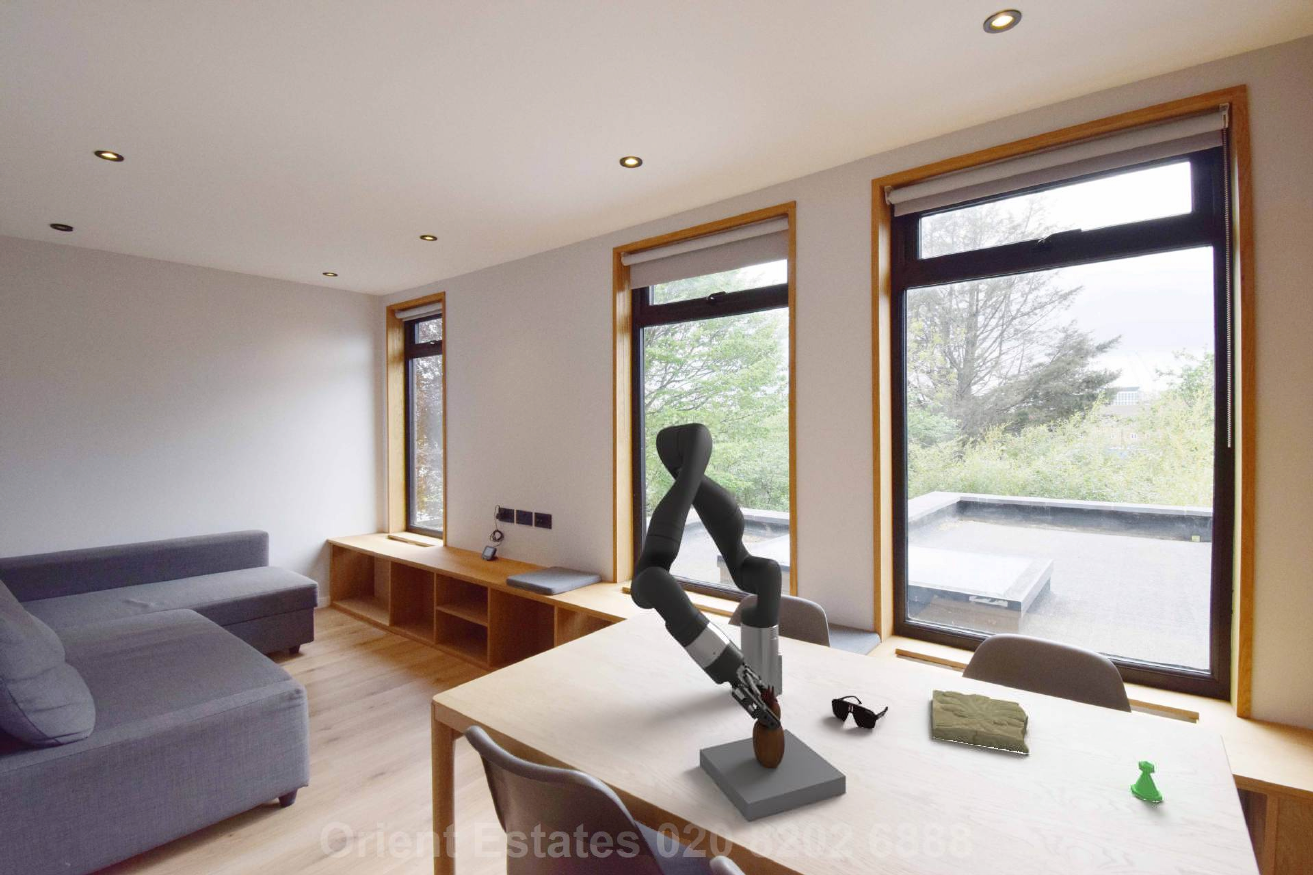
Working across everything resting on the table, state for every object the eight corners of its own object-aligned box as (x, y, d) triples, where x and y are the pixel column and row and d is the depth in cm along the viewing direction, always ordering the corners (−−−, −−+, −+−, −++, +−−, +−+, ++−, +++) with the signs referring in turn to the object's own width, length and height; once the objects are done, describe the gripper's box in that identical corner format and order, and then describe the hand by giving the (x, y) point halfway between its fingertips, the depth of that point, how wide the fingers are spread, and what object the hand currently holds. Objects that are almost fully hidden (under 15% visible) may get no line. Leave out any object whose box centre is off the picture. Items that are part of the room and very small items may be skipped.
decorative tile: (932, 740, 123) (932, 723, 123) (932, 700, 141) (932, 685, 141) (1037, 760, 115) (1037, 742, 115) (1023, 715, 134) (1023, 700, 134)
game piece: (1124, 786, 106) (1124, 753, 106) (1150, 788, 105) (1150, 754, 105) (1142, 801, 102) (1142, 767, 102) (1168, 803, 101) (1168, 768, 101)
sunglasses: (827, 718, 132) (828, 695, 133) (851, 707, 141) (852, 685, 141) (873, 734, 125) (874, 710, 125) (895, 722, 134) (896, 699, 134)
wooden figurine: (787, 772, 106) (787, 690, 106) (755, 772, 106) (754, 689, 106) (781, 751, 113) (780, 674, 112) (750, 751, 113) (750, 673, 113)
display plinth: (786, 743, 122) (786, 728, 121) (845, 792, 105) (845, 775, 105) (699, 764, 114) (699, 749, 114) (748, 821, 97) (748, 803, 97)
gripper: (727, 652, 103) (794, 721, 102) (728, 625, 117) (787, 685, 116) (696, 680, 104) (763, 749, 102) (701, 650, 118) (760, 711, 117)
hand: (776, 715), depth 109 cm, fingers open, 8 cm apart
